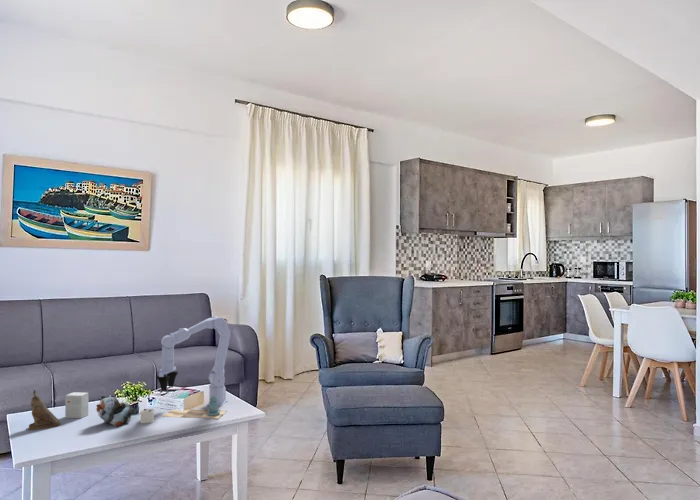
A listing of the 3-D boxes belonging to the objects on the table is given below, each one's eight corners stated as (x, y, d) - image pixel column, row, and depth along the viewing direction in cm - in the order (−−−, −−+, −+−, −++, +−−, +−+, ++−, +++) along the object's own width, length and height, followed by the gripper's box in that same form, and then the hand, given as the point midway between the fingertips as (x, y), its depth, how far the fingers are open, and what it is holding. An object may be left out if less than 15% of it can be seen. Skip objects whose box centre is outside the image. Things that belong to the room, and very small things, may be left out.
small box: (88, 415, 236) (89, 392, 236) (81, 418, 230) (81, 395, 231) (72, 414, 237) (73, 391, 237) (64, 418, 231) (65, 395, 231)
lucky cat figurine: (126, 427, 219) (109, 401, 215) (102, 437, 220) (85, 411, 216) (139, 407, 233) (123, 383, 230) (116, 416, 234) (100, 392, 231)
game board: (173, 409, 245) (173, 408, 245) (227, 411, 243) (227, 410, 243) (161, 417, 233) (161, 416, 233) (218, 419, 231) (218, 418, 231)
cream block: (142, 420, 228) (142, 408, 229) (153, 419, 230) (154, 407, 230) (140, 423, 224) (140, 411, 224) (152, 423, 225) (152, 410, 225)
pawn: (209, 412, 241) (210, 394, 241) (221, 412, 240) (221, 394, 240) (205, 415, 235) (205, 397, 235) (217, 416, 234) (217, 397, 235)
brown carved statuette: (29, 436, 214) (19, 396, 213) (30, 432, 219) (20, 392, 217) (60, 426, 219) (51, 387, 218) (61, 422, 224) (52, 384, 223)
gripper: (166, 357, 253) (166, 384, 252) (152, 363, 238) (152, 392, 238) (180, 357, 252) (179, 385, 252) (167, 363, 238) (166, 392, 237)
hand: (167, 388), depth 245 cm, fingers open, 7 cm apart
